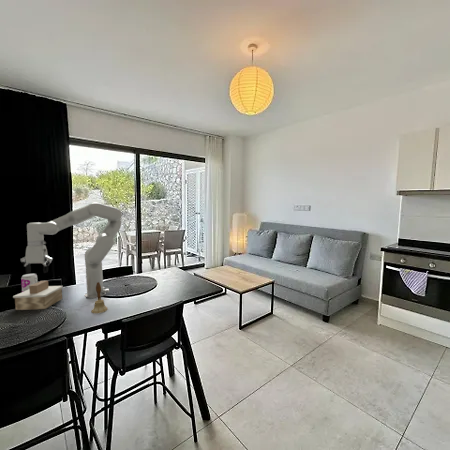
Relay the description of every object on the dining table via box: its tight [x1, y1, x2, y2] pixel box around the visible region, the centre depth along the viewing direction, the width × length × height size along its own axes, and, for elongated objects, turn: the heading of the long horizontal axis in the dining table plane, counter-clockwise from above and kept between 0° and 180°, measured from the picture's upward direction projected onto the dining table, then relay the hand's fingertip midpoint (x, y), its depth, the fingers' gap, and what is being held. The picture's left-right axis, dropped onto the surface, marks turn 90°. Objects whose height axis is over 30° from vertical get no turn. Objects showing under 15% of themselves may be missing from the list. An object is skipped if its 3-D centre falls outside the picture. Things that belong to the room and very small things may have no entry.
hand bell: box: [90, 282, 109, 315], centre depth 139 cm, size 8×8×16 cm
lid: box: [12, 280, 64, 299], centre depth 148 cm, size 17×17×6 cm
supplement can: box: [20, 273, 39, 293], centre depth 162 cm, size 8×8×15 cm
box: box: [14, 288, 63, 311], centre depth 148 cm, size 16×16×8 cm
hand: (37, 272), depth 147 cm, fingers open, 9 cm apart
